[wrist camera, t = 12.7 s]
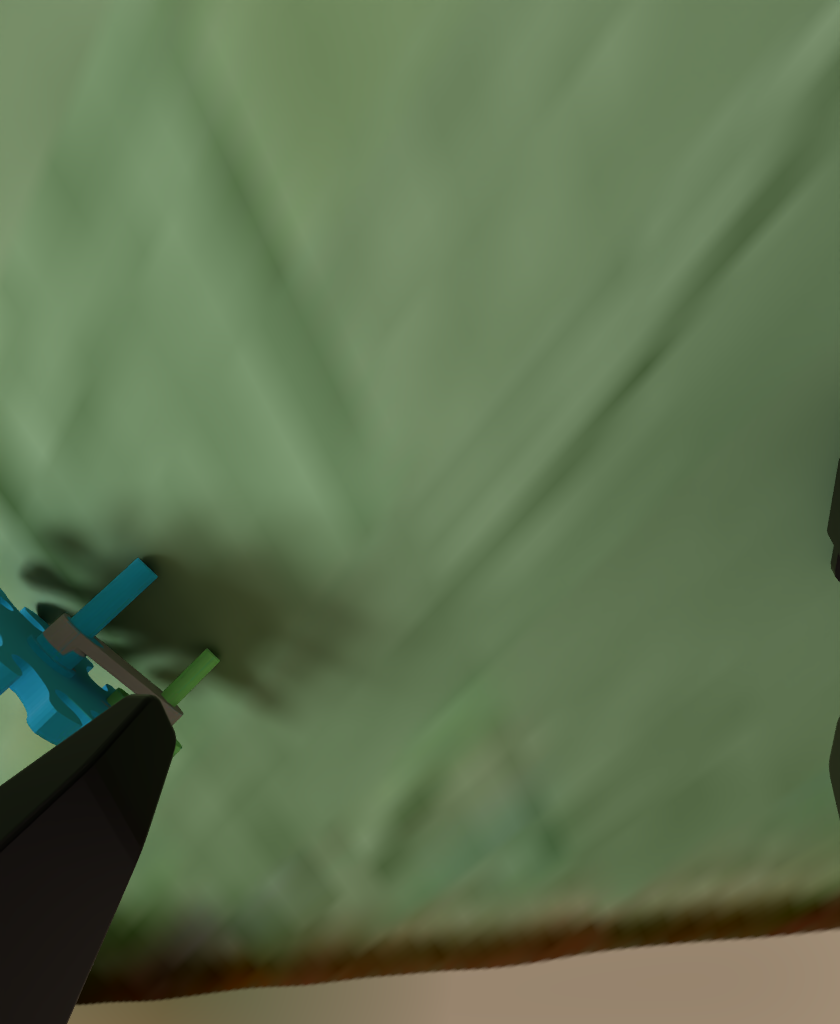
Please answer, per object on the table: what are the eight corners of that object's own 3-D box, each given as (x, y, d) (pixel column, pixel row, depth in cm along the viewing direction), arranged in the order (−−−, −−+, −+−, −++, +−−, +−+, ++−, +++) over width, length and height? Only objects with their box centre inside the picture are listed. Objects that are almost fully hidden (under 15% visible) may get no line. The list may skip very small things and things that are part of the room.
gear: (-101, 557, 27) (-127, 655, 18) (30, 449, 28) (60, 496, 20) (116, 721, 32) (171, 853, 24) (216, 624, 34) (299, 717, 26)
